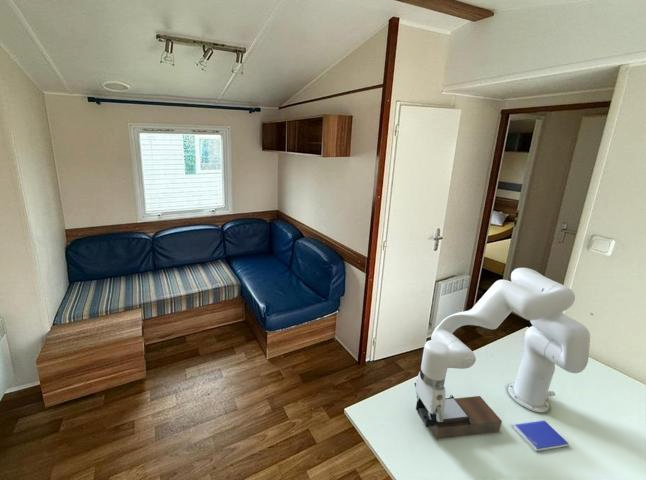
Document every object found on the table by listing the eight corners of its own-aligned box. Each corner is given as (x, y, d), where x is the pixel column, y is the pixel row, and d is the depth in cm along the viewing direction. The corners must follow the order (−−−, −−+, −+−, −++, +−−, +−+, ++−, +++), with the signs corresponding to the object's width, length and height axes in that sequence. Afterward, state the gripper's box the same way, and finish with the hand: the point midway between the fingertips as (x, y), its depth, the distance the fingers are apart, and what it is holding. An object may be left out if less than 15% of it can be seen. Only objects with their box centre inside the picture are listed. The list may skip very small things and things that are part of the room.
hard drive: (537, 448, 95) (568, 443, 97) (514, 424, 103) (544, 419, 105) (536, 451, 96) (567, 446, 97) (513, 427, 103) (543, 423, 105)
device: (415, 401, 105) (413, 410, 106) (428, 422, 98) (426, 431, 99) (453, 397, 107) (451, 406, 108) (469, 417, 99) (467, 427, 101)
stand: (477, 405, 111) (480, 392, 110) (499, 432, 101) (503, 418, 100) (419, 411, 109) (421, 397, 107) (436, 440, 99) (439, 425, 97)
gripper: (460, 397, 90) (450, 440, 95) (427, 356, 106) (420, 395, 111) (438, 399, 89) (429, 443, 94) (408, 358, 105) (402, 397, 110)
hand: (424, 417), depth 102 cm, fingers closed on device, 5 cm apart
